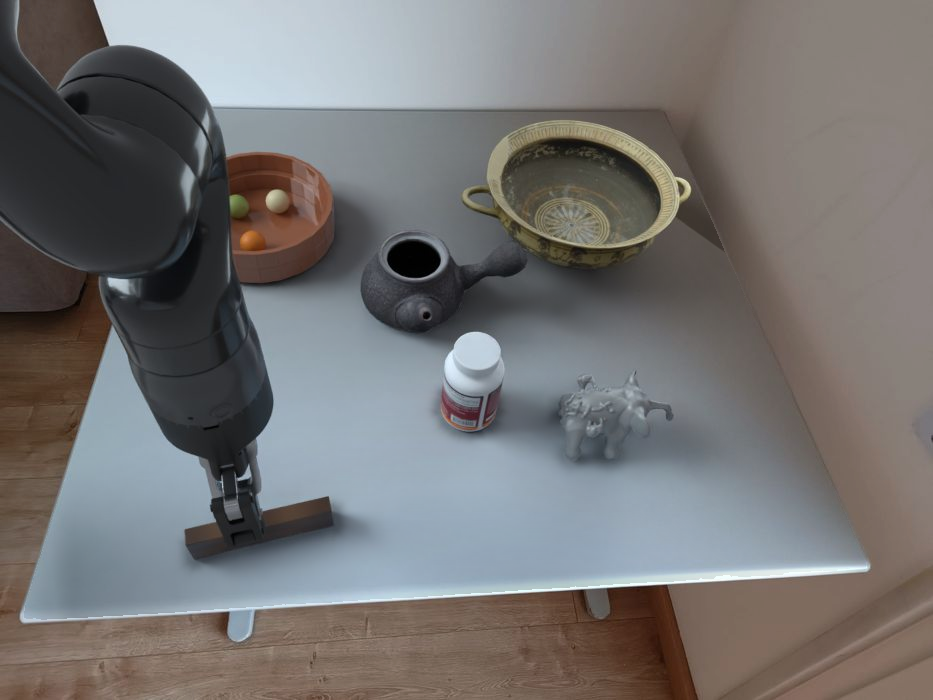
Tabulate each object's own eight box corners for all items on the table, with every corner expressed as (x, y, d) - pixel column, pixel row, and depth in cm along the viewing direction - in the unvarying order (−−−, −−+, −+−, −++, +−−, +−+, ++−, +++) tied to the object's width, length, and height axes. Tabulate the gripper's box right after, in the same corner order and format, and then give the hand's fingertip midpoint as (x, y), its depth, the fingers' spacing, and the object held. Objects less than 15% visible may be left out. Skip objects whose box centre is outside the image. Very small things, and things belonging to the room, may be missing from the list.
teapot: (368, 363, 81) (366, 307, 73) (356, 263, 89) (353, 203, 81) (529, 349, 84) (544, 293, 76) (502, 254, 93) (513, 195, 85)
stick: (193, 559, 66) (185, 545, 63) (192, 543, 67) (184, 528, 64) (334, 525, 69) (331, 511, 66) (331, 510, 70) (328, 495, 67)
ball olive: (227, 225, 91) (223, 207, 88) (225, 209, 92) (221, 191, 90) (252, 221, 91) (248, 204, 89) (249, 206, 93) (245, 188, 90)
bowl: (193, 297, 84) (183, 265, 80) (183, 194, 94) (173, 160, 90) (347, 273, 88) (345, 241, 84) (321, 177, 98) (318, 144, 94)
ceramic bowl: (647, 174, 105) (668, 116, 97) (701, 297, 91) (731, 242, 83) (445, 179, 100) (450, 119, 92) (470, 310, 87) (478, 253, 79)
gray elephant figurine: (538, 409, 79) (551, 370, 73) (631, 381, 83) (651, 342, 76) (575, 482, 74) (592, 446, 68) (672, 449, 78) (697, 412, 72)
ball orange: (243, 262, 87) (239, 244, 85) (240, 245, 89) (236, 227, 86) (268, 258, 88) (265, 241, 85) (265, 241, 89) (262, 224, 87)
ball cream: (269, 219, 92) (265, 202, 89) (265, 203, 93) (262, 186, 91) (292, 216, 92) (290, 198, 90) (289, 200, 94) (286, 183, 92)
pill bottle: (480, 378, 81) (492, 318, 72) (505, 422, 78) (520, 364, 69) (430, 396, 79) (436, 335, 70) (453, 441, 76) (462, 384, 67)
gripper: (137, 297, 48) (191, 420, 61) (144, 485, 40) (205, 580, 53) (251, 279, 50) (280, 402, 63) (279, 457, 42) (306, 555, 55)
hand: (245, 484), depth 58 cm, fingers open, 8 cm apart
